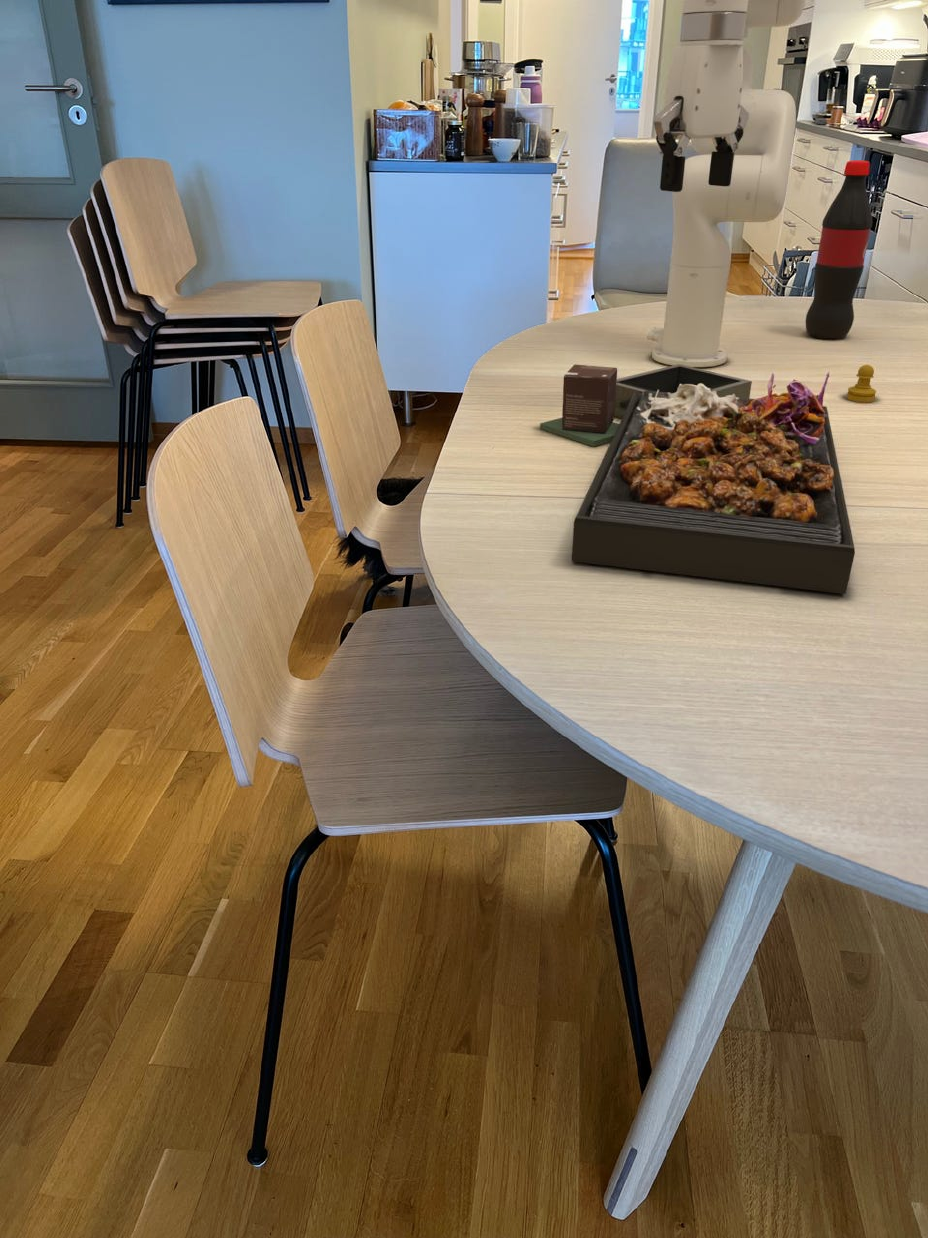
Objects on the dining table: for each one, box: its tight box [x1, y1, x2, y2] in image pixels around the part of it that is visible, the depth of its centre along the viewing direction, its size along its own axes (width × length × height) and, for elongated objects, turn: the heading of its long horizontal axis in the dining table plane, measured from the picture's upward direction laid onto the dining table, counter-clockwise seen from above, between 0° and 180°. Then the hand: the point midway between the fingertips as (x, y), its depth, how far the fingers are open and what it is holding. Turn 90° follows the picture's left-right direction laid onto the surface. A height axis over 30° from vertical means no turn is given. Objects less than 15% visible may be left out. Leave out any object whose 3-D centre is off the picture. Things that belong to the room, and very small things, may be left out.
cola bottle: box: [805, 159, 873, 340], centre depth 168 cm, size 8×8×30 cm
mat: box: [539, 417, 620, 448], centre depth 123 cm, size 10×8×1 cm
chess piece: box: [846, 364, 877, 403], centre depth 136 cm, size 4×4×5 cm
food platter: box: [571, 371, 856, 595], centre depth 101 cm, size 45×25×10 cm, turn 164°
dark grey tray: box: [614, 364, 753, 420], centre depth 130 cm, size 13×16×4 cm
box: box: [561, 364, 618, 433], centre depth 121 cm, size 6×6×7 cm
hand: (695, 188), depth 120 cm, fingers open, 9 cm apart
